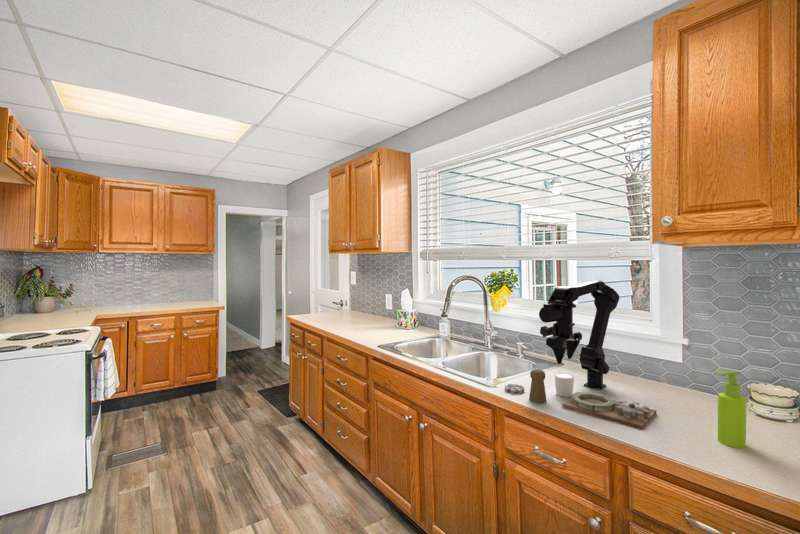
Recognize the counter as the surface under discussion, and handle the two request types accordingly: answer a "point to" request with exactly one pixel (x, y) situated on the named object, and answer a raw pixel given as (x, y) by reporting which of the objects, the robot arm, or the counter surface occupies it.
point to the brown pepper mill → (537, 387)
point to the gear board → (611, 409)
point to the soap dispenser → (731, 413)
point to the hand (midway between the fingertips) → (564, 361)
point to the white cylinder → (564, 384)
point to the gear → (514, 388)
